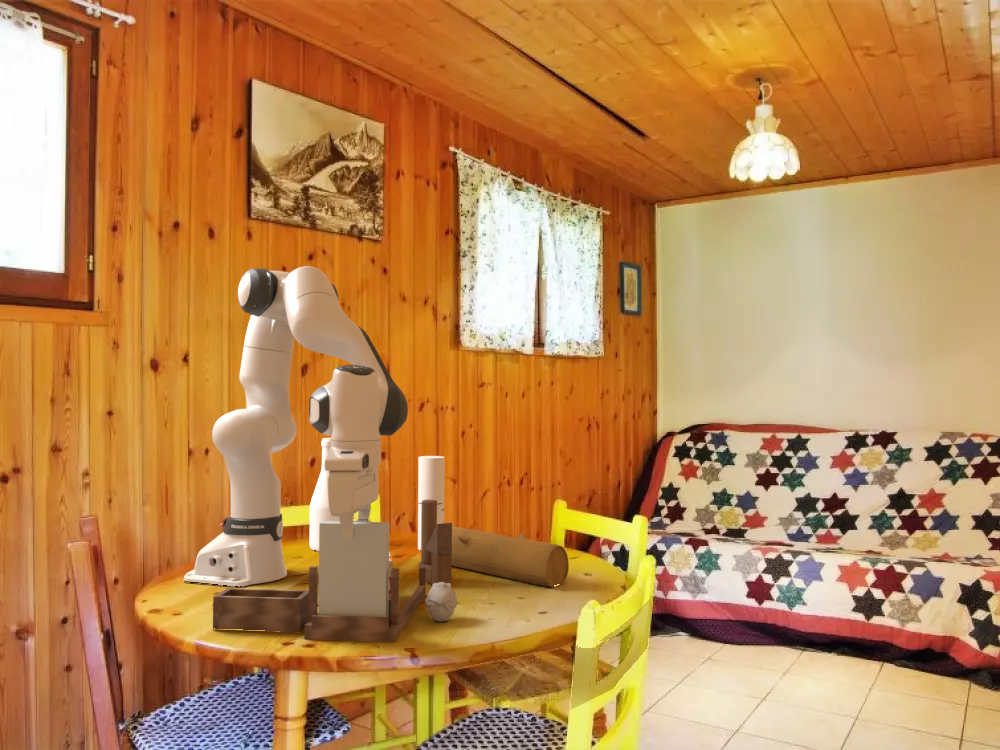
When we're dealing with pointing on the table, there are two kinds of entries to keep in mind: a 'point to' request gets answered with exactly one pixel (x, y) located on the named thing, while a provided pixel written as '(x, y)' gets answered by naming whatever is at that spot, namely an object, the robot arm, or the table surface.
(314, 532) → the wine bottle
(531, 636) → the table surface
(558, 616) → the table surface
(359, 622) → the rack
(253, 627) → the holder
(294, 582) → the table surface
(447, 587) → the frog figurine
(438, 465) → the cylindrical container
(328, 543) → the sheet
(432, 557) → the brown wedge with rod
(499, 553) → the log
